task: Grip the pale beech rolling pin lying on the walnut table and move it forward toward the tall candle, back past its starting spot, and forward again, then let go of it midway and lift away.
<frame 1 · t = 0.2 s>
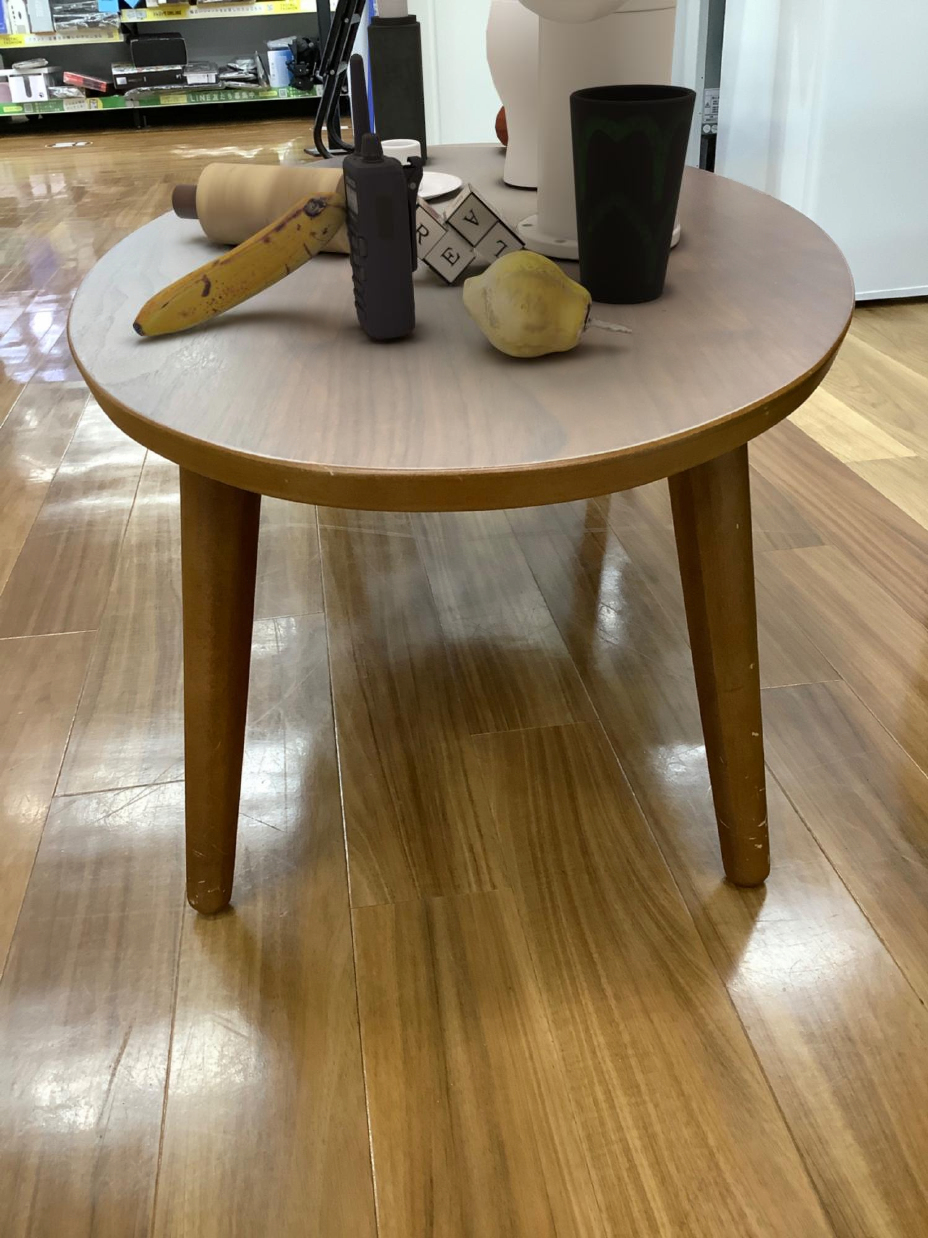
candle: (402, 164, 107), on the table
donut: (562, 93, 107), point 5 cm above the table
fruit 2: (227, 242, 61), point 5 cm above the table, touching two-way radio
rolling pin: (288, 246, 80), on the table
building blocks: (461, 277, 72), on the table
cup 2: (543, 181, 97), on the table
two-way radio: (395, 330, 63), on the table, touching fruit 2
cup: (621, 293, 68), on the table
fruit: (546, 353, 59), on the table
candle holder: (399, 194, 95), on the table
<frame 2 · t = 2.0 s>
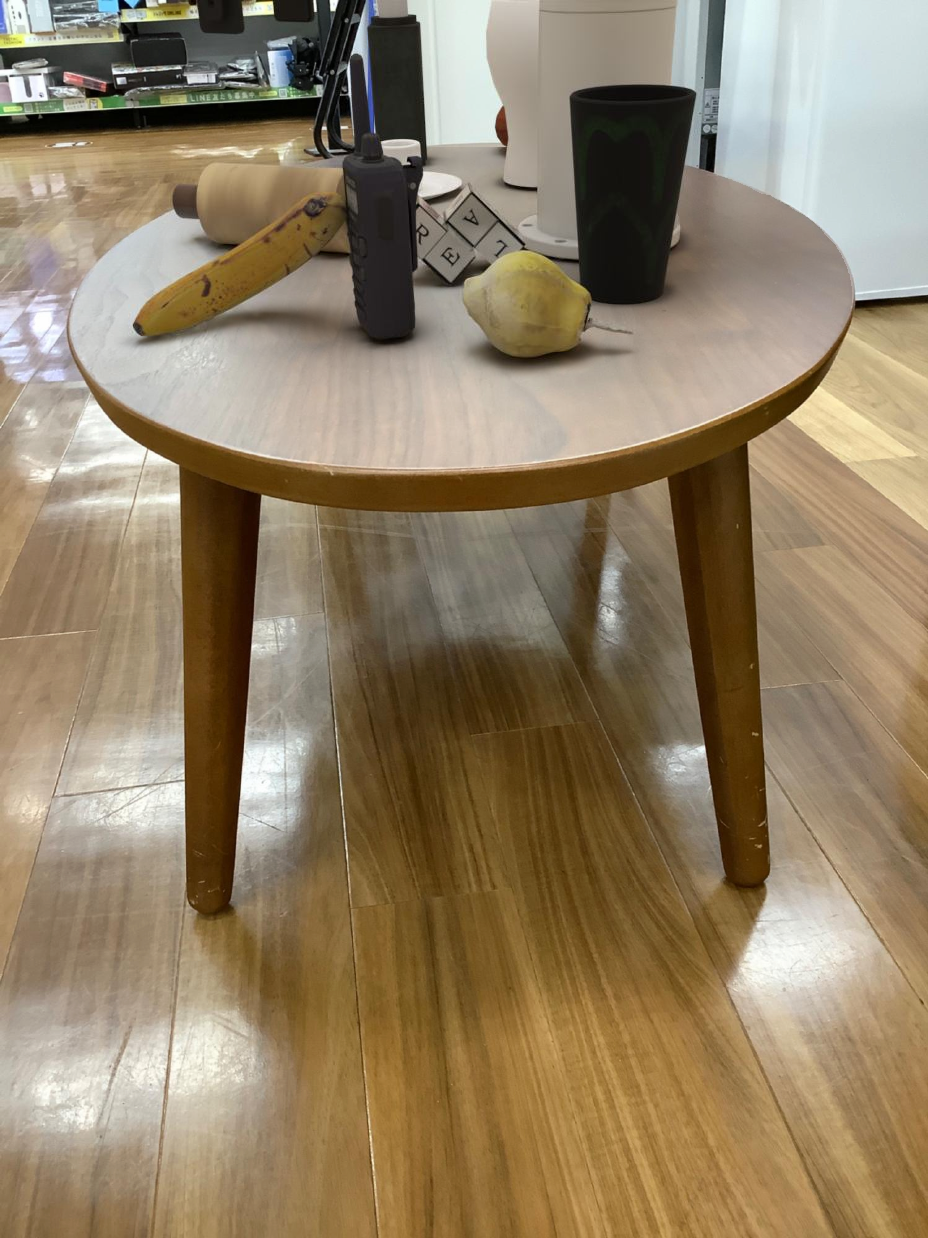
hand: (260, 26, 72), 15 cm above the table, tool pointing down, fingers open, 9 cm apart
nothing on the table moved.
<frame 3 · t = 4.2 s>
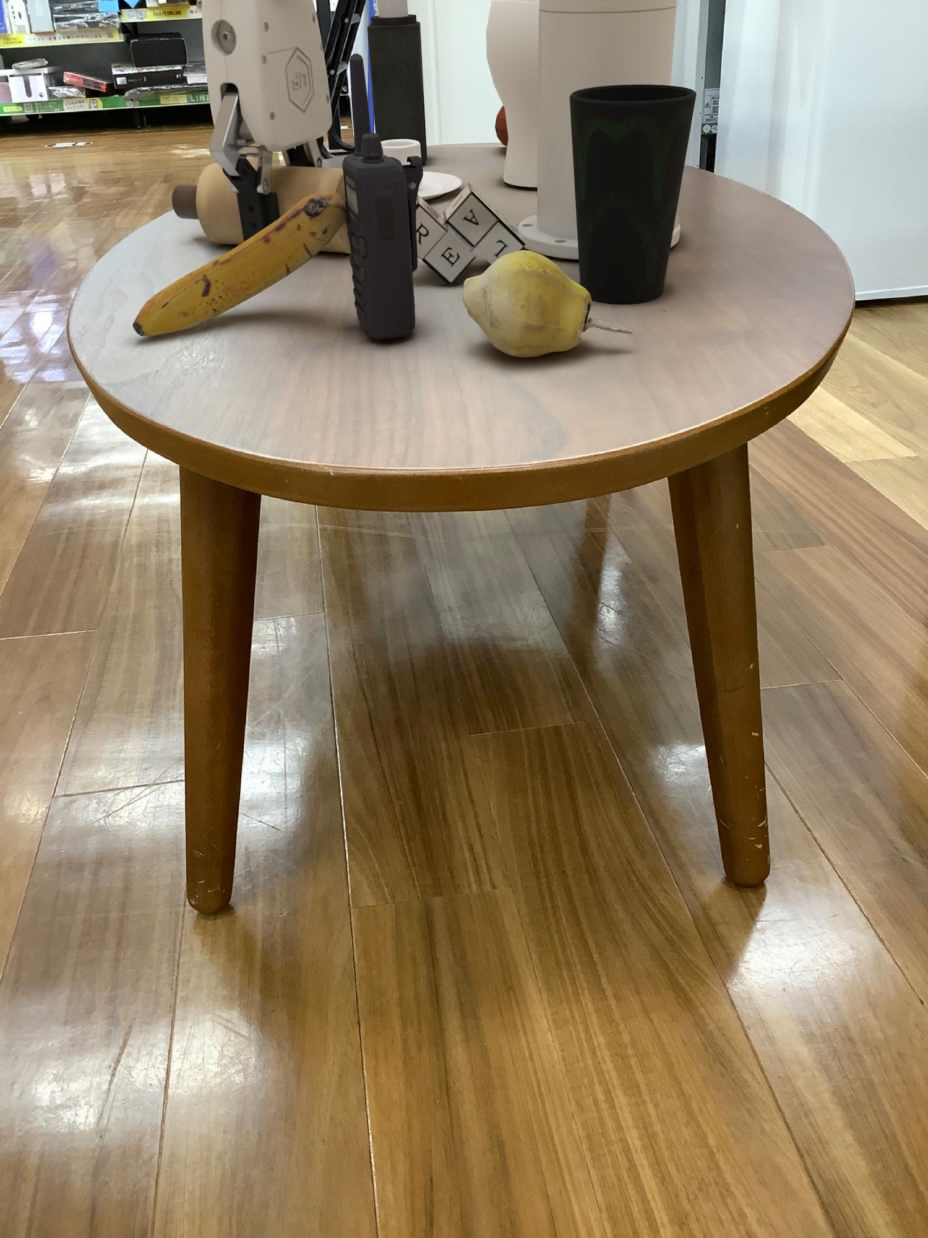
hand: (286, 233, 80), 1 cm above the table, tool pointing down, fingers closed on rolling pin, 6 cm apart
rolling pin: (287, 247, 80), on the table, touching gripper
everything else where it was.
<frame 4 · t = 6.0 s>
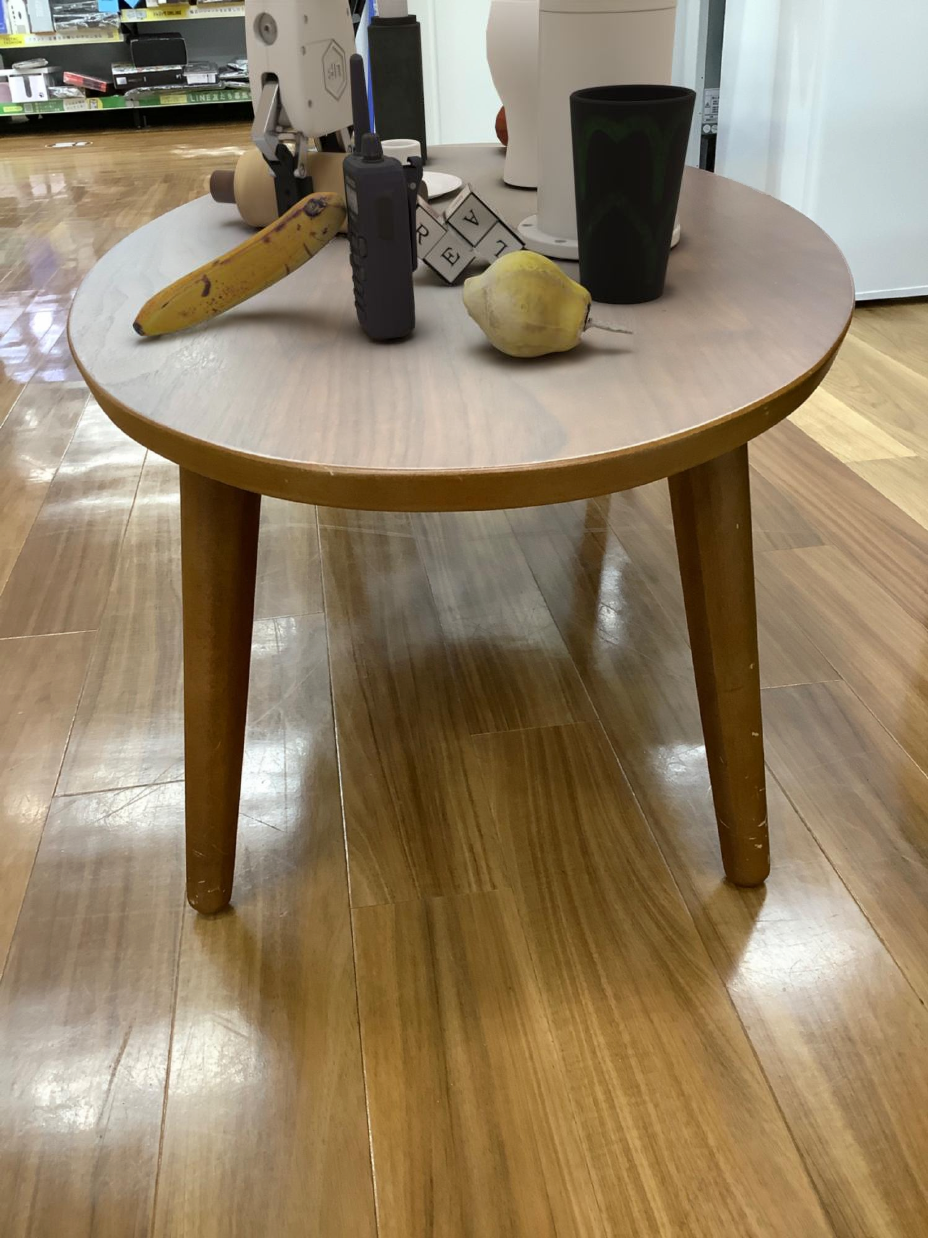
hand: (318, 216, 84), 1 cm above the table, tool pointing down, fingers closed on rolling pin, 6 cm apart
rolling pin: (319, 229, 84), on the table, touching gripper
everything else where it was.
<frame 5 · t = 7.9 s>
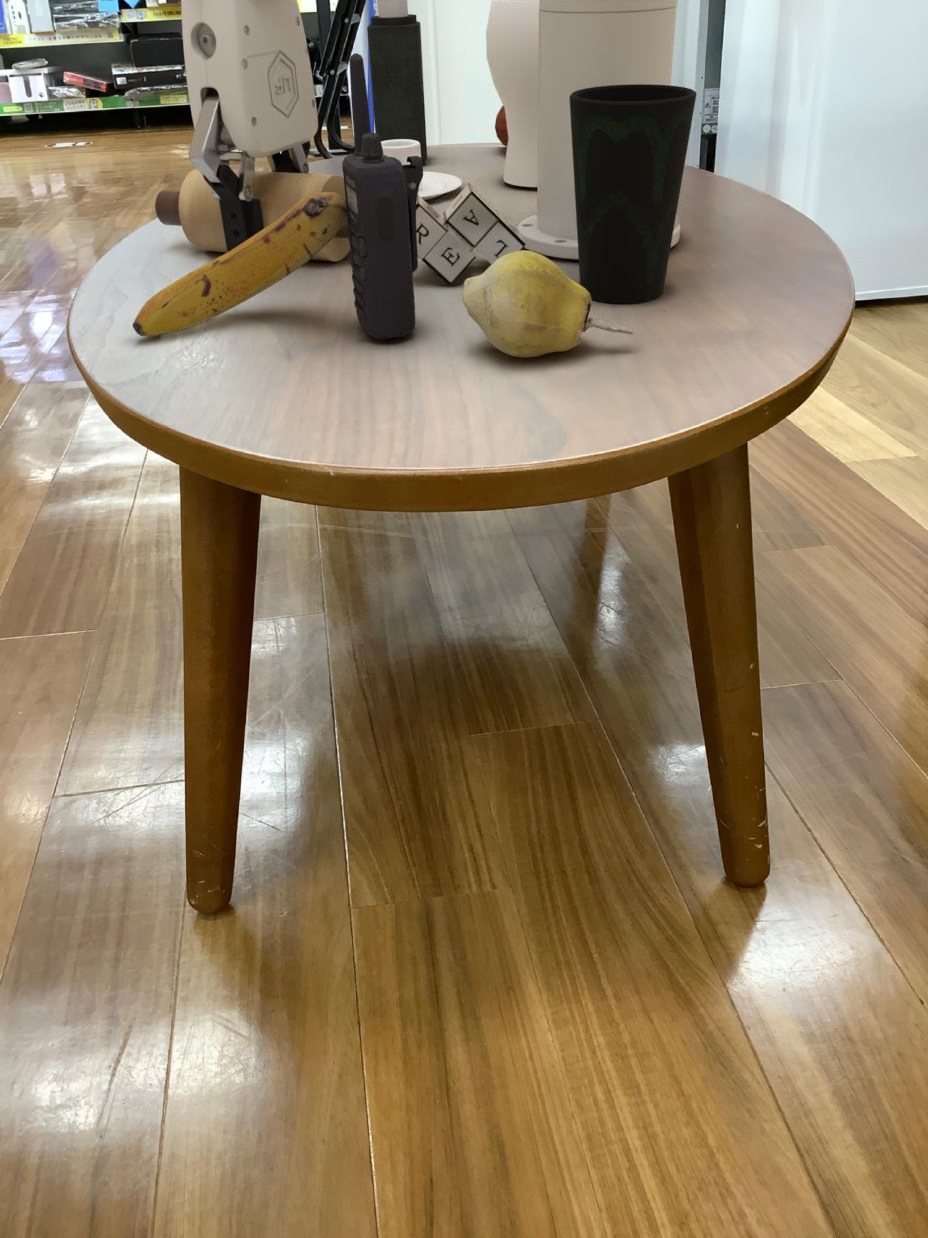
hand: (271, 240, 78), 1 cm above the table, tool pointing down, fingers closed on rolling pin, 6 cm apart
rolling pin: (272, 254, 78), on the table, touching gripper
everything else where it was.
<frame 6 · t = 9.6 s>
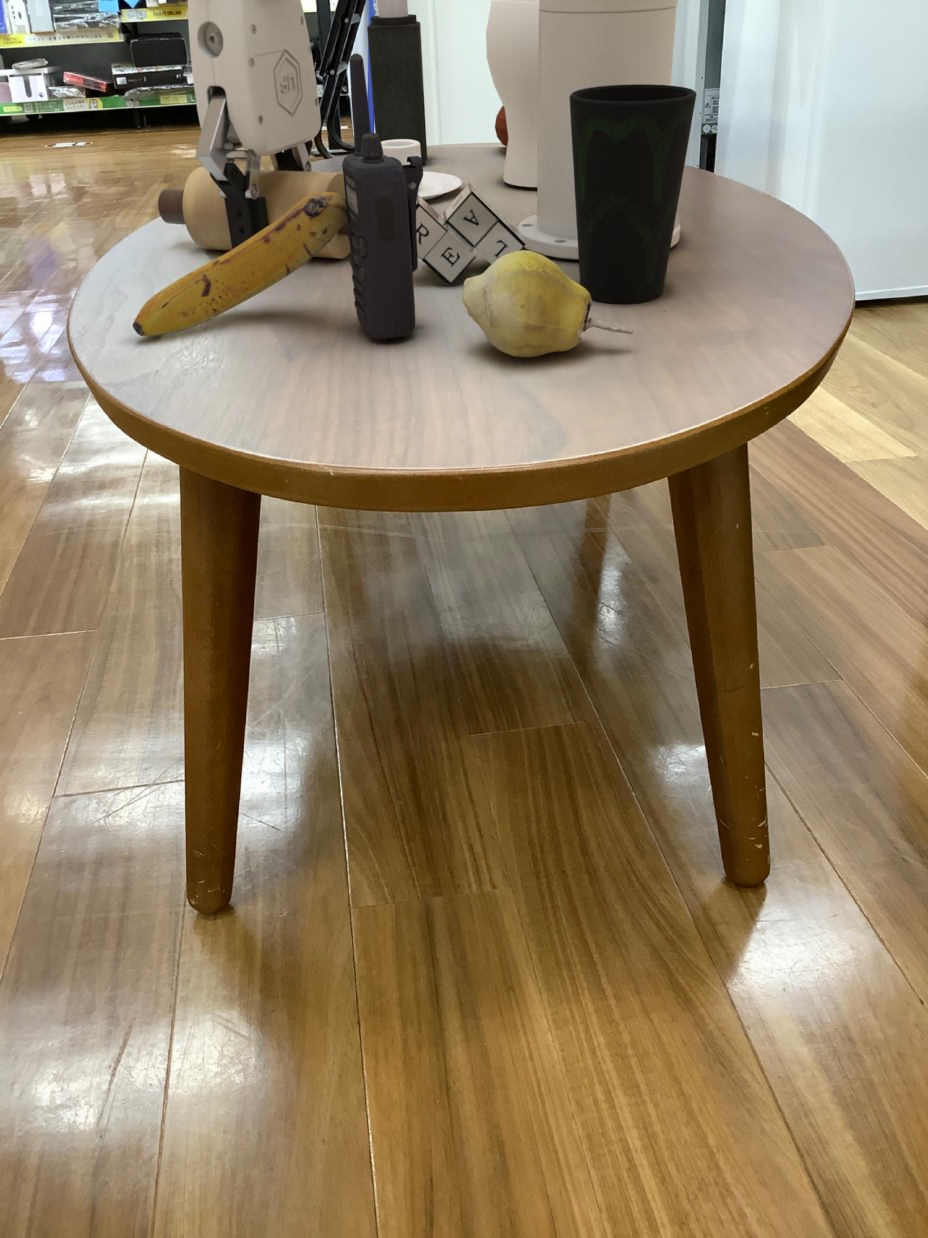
hand: (274, 238, 78), 1 cm above the table, tool pointing down, fingers closed on rolling pin, 6 cm apart
rolling pin: (276, 252, 79), on the table, touching gripper
everything else where it was.
when the fingers open (1 cm above the table, at t = 10.8 s): rolling pin stays where it is, on the table.
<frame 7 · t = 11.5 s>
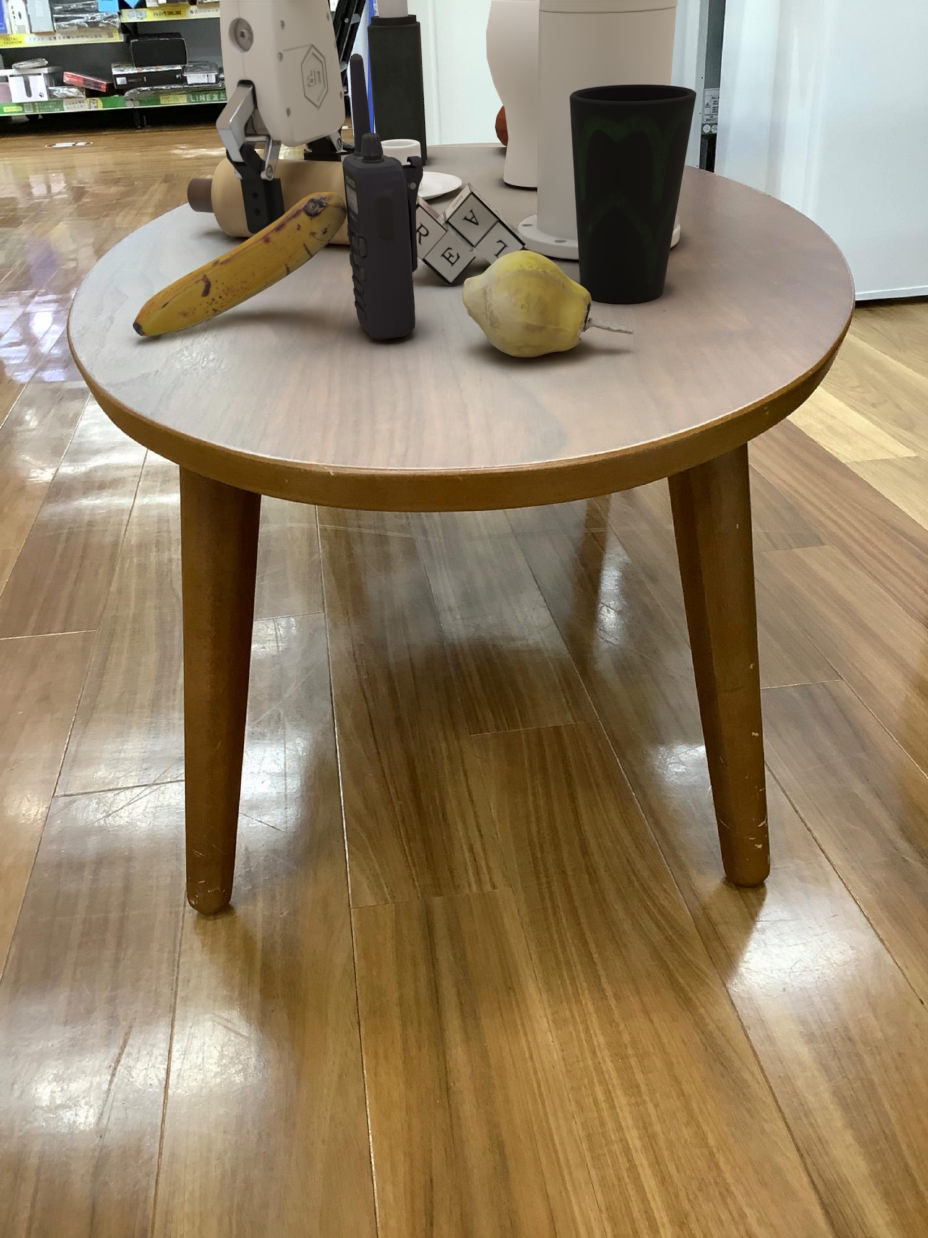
hand: (299, 218, 81), 2 cm above the table, tool pointing down, fingers open, 9 cm apart
rolling pin: (299, 240, 82), on the table, tilted 6°
everything else where it was.
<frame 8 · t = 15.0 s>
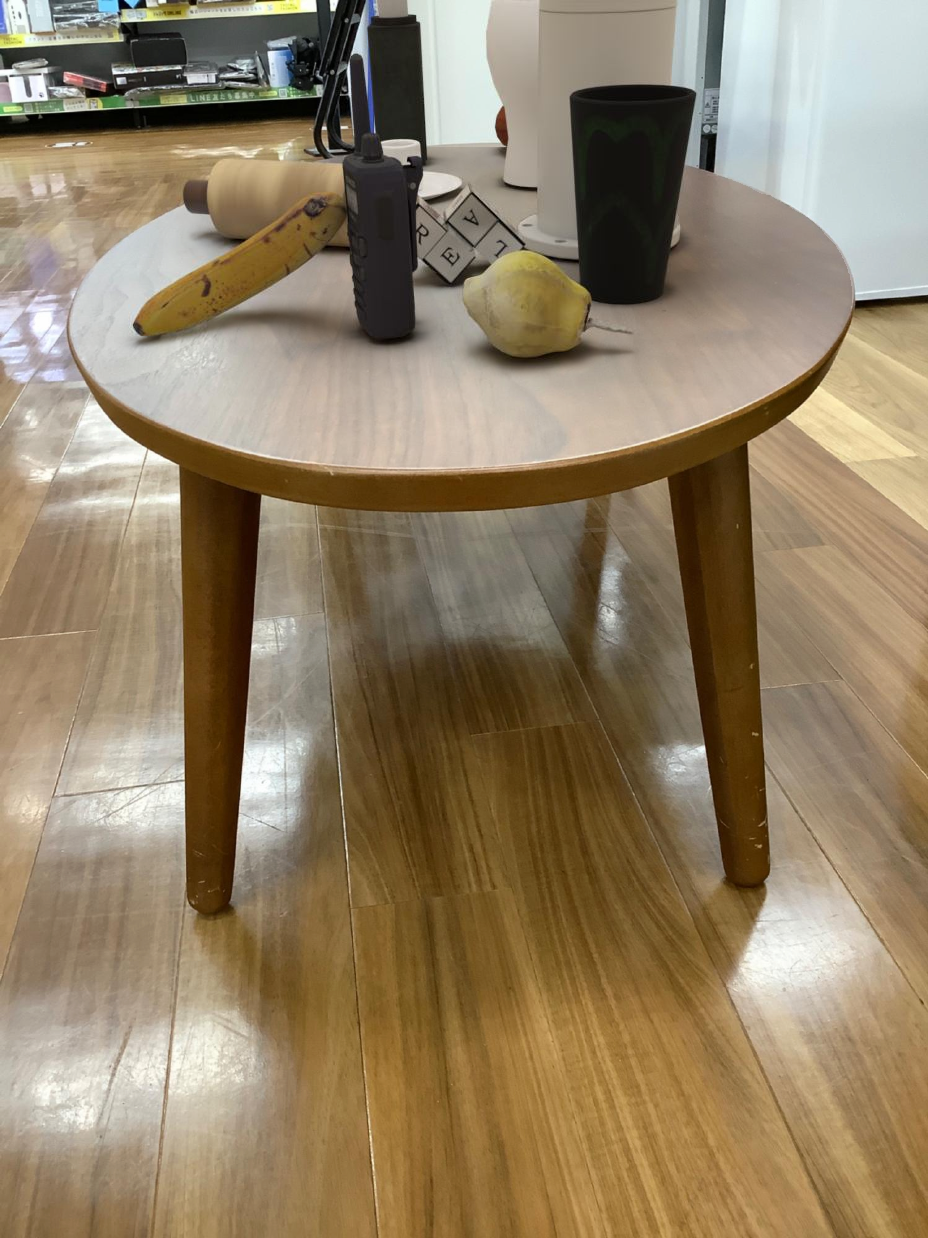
nothing on the table moved.
at the end: rolling pin 0.2 cm from the target spot, on the table; the gripper is holding nothing; rolling pin touching table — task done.
